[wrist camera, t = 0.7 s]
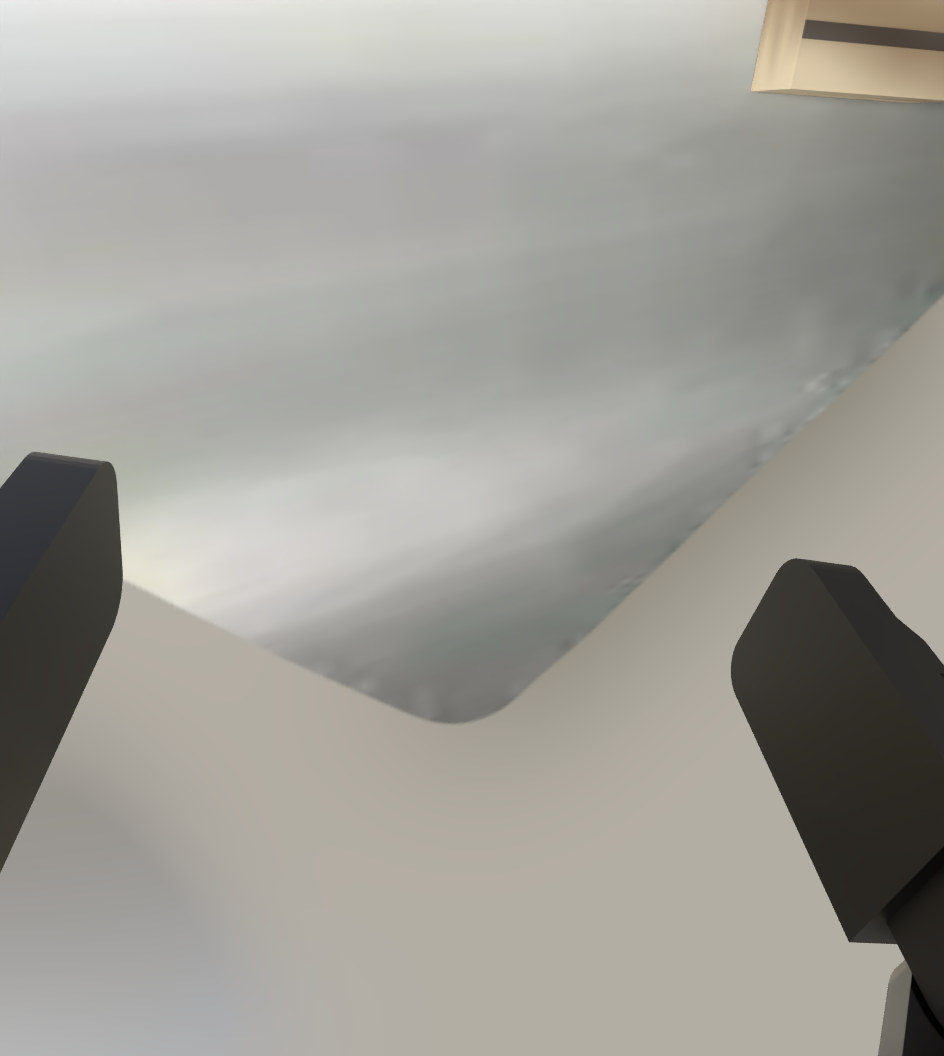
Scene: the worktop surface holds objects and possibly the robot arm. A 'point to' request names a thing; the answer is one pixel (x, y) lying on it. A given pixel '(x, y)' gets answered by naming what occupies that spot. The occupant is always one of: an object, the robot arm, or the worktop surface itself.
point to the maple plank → (853, 49)
